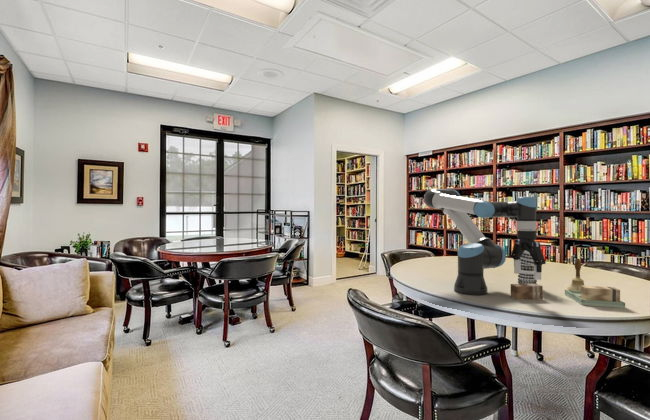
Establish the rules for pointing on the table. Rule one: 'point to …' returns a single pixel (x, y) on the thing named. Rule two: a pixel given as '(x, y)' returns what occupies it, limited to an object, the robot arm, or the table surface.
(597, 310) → the table surface
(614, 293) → the oak bar
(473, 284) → the robot arm
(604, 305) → the pale green flat frame
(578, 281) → the hand bell
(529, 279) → the decorative candle
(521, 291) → the walnut bar
